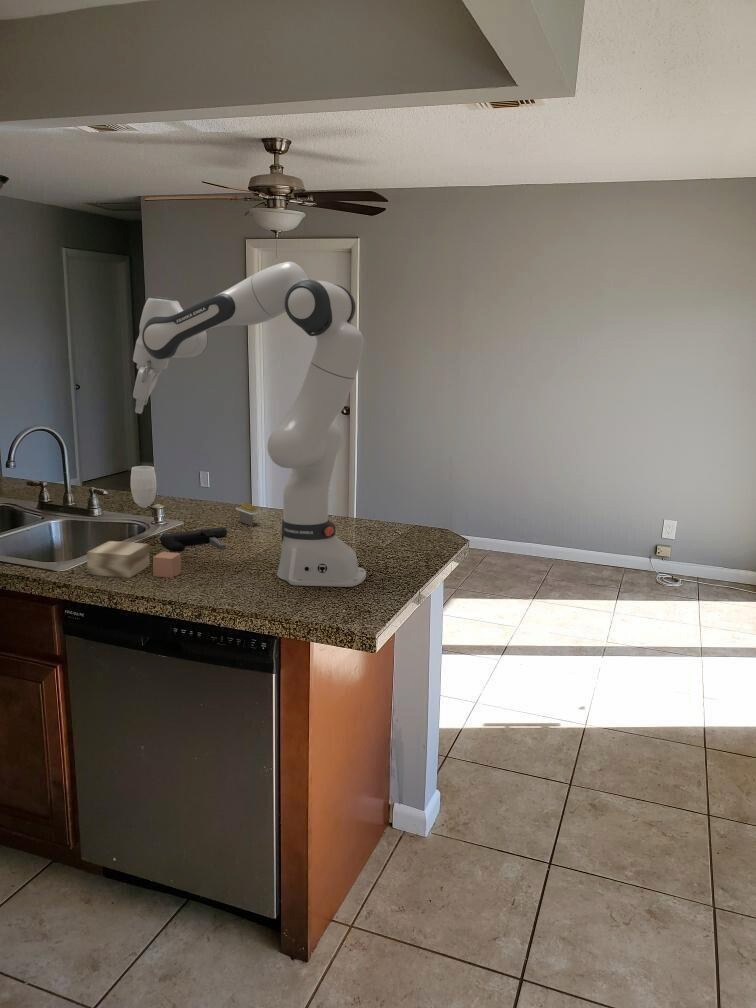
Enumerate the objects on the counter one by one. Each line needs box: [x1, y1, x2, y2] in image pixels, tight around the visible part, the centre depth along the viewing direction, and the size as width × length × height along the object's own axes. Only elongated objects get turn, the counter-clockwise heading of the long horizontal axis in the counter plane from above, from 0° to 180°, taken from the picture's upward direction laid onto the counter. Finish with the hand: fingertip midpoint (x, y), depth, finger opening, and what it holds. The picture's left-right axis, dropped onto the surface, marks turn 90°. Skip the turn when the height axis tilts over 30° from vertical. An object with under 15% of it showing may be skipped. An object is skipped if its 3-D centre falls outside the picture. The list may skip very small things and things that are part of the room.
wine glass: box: [130, 465, 158, 509], centre depth 227 cm, size 7×7×21 cm
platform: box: [235, 502, 260, 527], centre depth 249 cm, size 12×18×7 cm, turn 40°
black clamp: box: [159, 526, 228, 553], centre depth 224 cm, size 3×20×16 cm
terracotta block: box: [152, 551, 182, 579], centre depth 195 cm, size 5×5×5 cm
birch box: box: [86, 540, 151, 579], centre depth 197 cm, size 11×11×6 cm
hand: (140, 408), depth 208 cm, fingers open, 8 cm apart
